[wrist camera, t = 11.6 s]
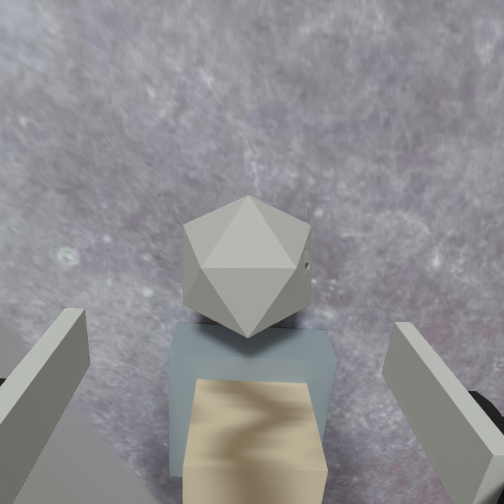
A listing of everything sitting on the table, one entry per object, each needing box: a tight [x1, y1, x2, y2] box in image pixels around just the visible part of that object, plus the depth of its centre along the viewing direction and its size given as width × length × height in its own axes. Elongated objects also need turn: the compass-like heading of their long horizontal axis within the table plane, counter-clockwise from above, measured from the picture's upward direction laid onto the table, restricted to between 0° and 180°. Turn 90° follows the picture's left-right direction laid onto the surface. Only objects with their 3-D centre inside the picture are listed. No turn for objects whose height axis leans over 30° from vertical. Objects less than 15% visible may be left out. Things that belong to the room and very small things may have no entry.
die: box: [183, 195, 311, 338], centre depth 24 cm, size 8×9×10 cm
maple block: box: [183, 379, 328, 504], centre depth 25 cm, size 8×8×7 cm
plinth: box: [168, 323, 338, 477], centre depth 30 cm, size 12×12×4 cm
